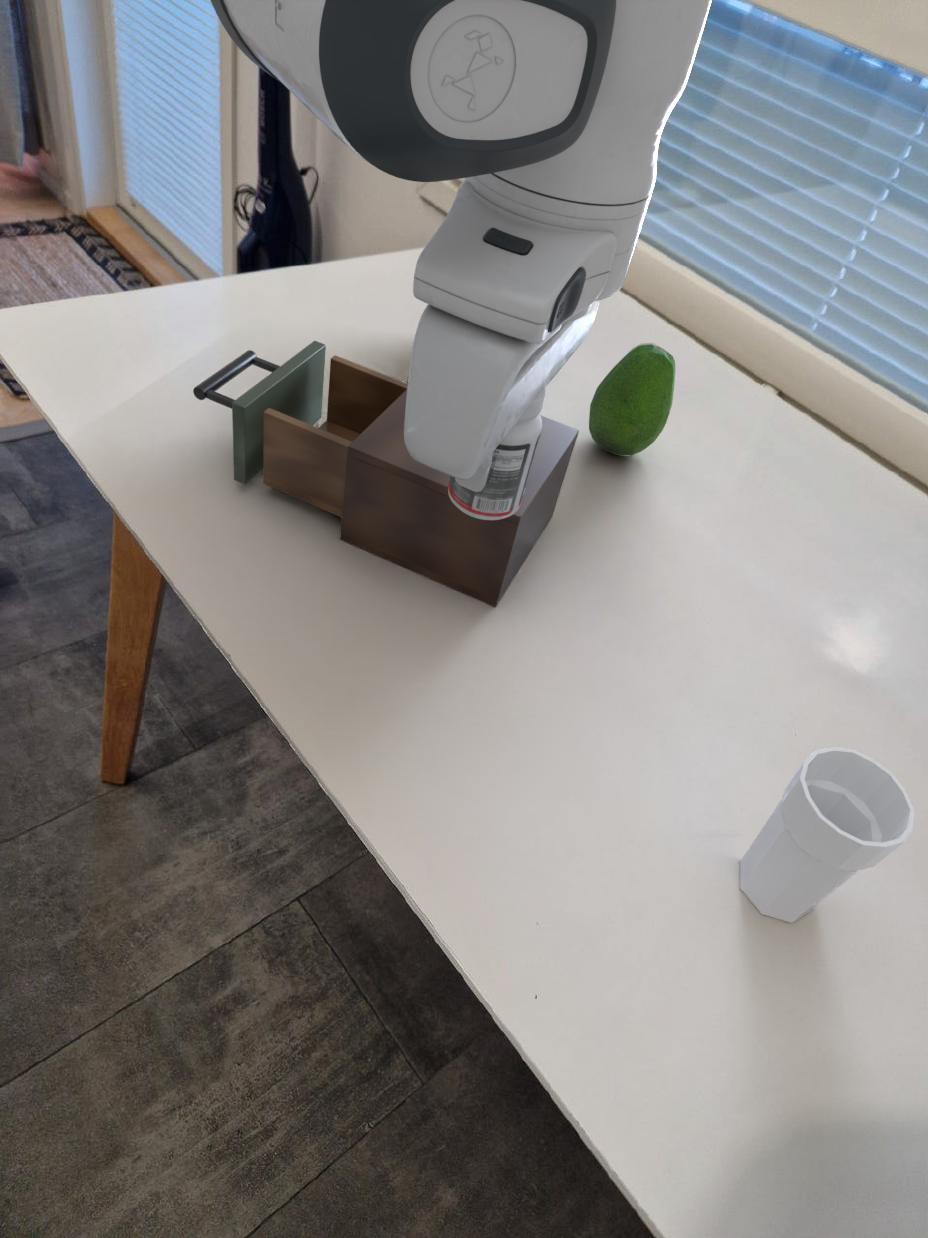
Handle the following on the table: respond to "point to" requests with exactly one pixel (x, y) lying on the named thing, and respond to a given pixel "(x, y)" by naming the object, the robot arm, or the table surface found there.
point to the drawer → (301, 421)
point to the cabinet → (444, 510)
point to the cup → (825, 832)
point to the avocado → (633, 401)
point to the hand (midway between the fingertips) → (492, 457)
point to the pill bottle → (504, 470)
